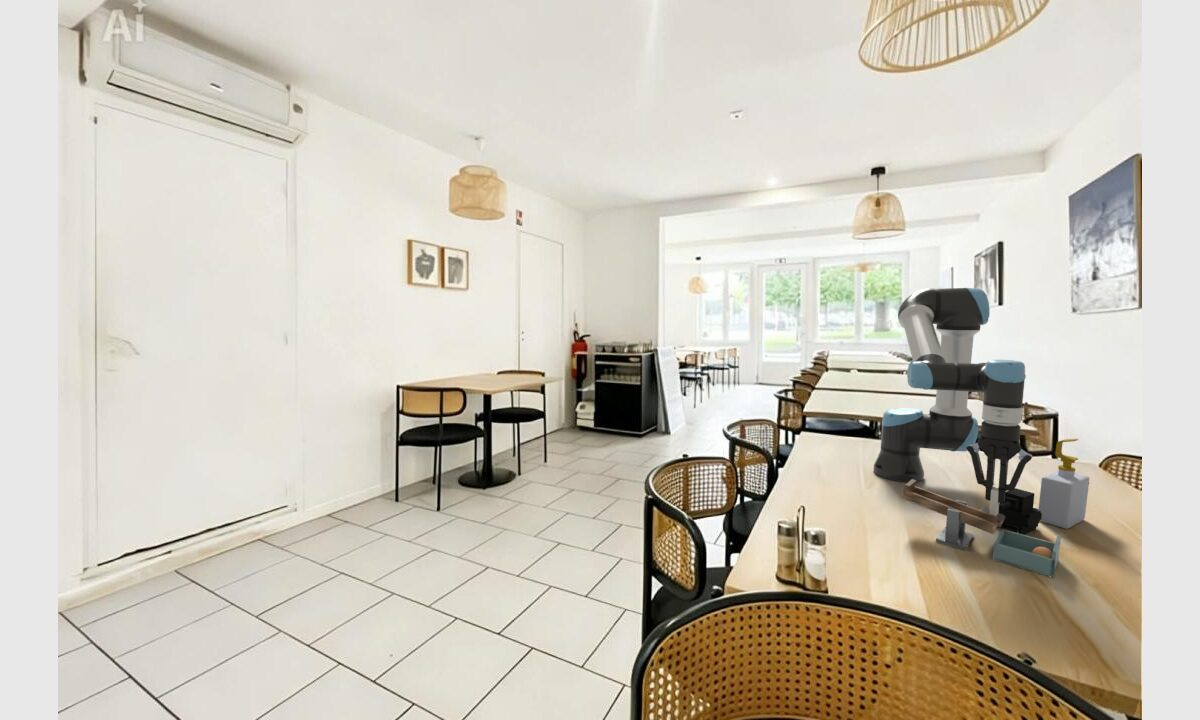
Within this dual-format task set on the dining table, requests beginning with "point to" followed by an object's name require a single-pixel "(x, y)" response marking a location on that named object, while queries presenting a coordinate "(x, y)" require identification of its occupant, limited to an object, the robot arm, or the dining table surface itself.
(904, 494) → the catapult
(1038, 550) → the ball
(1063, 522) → the soap bottle
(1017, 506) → the toy
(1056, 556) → the tray
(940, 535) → the stand
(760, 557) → the dining table surface
